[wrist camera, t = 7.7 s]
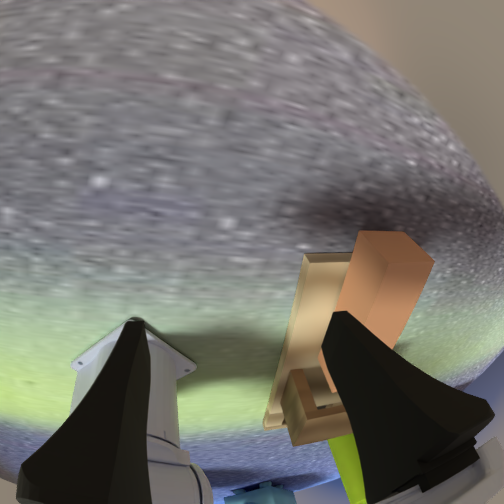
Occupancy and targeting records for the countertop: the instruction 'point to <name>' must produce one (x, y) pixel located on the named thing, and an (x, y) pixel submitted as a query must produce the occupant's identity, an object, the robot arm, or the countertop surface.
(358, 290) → the block
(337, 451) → the soap dispenser
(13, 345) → the countertop surface
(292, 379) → the tunnel
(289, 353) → the board
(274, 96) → the countertop surface
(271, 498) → the teapot
